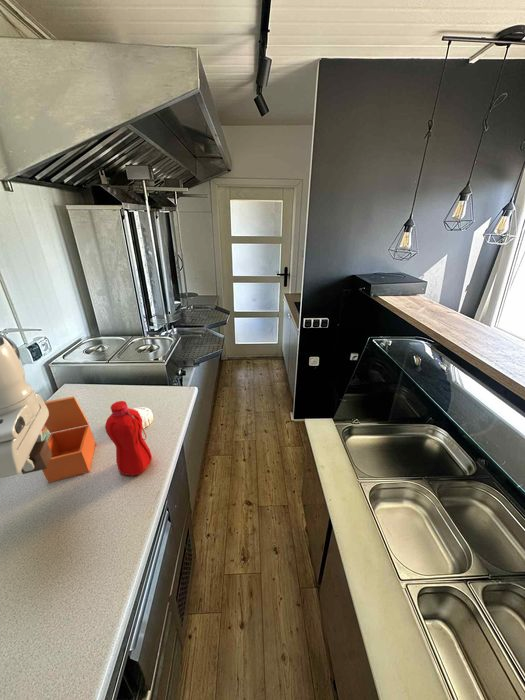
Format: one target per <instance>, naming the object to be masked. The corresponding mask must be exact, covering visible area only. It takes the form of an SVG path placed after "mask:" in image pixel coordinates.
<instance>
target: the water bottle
mask: <svg viewBox="0 0 525 700" xmlns="http://www.w3.org/2000/svg"><path fill="white" fill-rule="evenodd" d="M110 411H111V414H110V415H109V416H108V417H107V419H106V421H105V425H104V428H105V433H106V434H107V436H108V438H109V439H110V440H111V442H112V443H113V444H114V445H115V452H116V453H115V460H116V461H115V462H116V465H117V469H118V471H119V473H120V474H122V475H124V476H125V475H126V476H131V477H133V476H139V475H141V474H143V473H144V472H145V471H146V470H147V469H148V467H149V465H150V464H151V462H152V458H153V454H152V452H151V449H150V447H149V446H148V444H147V442H146V440H147V434H146V432H145V428H144V429H143V427H142V418H141V416H140V414H139V413H138V411H136V410H134V408H130V407H128V404H127V402H126V401H125V400H119V401H115V402H114V403H112V404H111V405H110ZM143 434H144V437H143Z"/></svg>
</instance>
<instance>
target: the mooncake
mask: <svg viewBox="0 0 525 700" xmlns="http://www.w3.org/2000/svg"><path fill="white" fill-rule="evenodd" d="M133 409H134V410H136V411H138V413H139V414H140V416H141V418H142V427H143V429H144V430H145V428H148V427H149V425H151V424H152V422H153V421H154V415H153V412H152V409H150V408H149V407H146V406H138V407H134V408H133Z"/></svg>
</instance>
